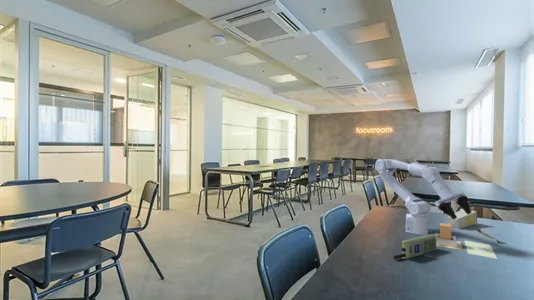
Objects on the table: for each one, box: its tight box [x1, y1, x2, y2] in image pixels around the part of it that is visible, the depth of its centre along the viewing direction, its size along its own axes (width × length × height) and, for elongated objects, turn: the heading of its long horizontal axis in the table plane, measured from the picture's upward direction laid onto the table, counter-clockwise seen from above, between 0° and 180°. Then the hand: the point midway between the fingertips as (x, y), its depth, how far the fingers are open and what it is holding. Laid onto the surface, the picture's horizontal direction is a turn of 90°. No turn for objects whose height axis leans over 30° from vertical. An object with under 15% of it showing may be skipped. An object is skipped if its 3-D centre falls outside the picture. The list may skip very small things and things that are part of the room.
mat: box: [464, 240, 498, 260], centre depth 113 cm, size 9×18×1 cm, turn 147°
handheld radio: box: [393, 233, 438, 260], centre depth 107 cm, size 7×3×25 cm
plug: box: [439, 222, 452, 240], centre depth 120 cm, size 4×4×8 cm
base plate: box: [437, 241, 464, 251], centre depth 120 cm, size 12×12×1 cm
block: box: [447, 208, 478, 230], centre depth 151 cm, size 19×8×8 cm, turn 119°
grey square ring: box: [434, 233, 457, 248], centre depth 120 cm, size 8×8×2 cm
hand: (462, 216), depth 119 cm, fingers open, 7 cm apart
